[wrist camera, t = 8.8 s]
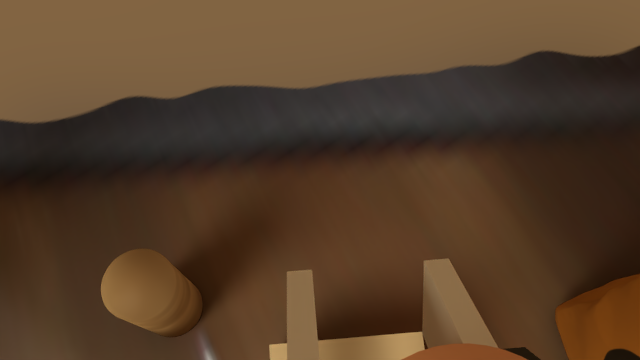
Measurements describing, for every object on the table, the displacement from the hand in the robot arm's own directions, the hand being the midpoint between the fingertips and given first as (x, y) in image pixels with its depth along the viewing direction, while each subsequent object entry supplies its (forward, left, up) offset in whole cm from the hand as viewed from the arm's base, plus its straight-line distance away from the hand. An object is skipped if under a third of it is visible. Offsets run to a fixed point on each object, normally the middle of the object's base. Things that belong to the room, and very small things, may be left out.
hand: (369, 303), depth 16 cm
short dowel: (-10, +3, -16) cm, 19 cm away
